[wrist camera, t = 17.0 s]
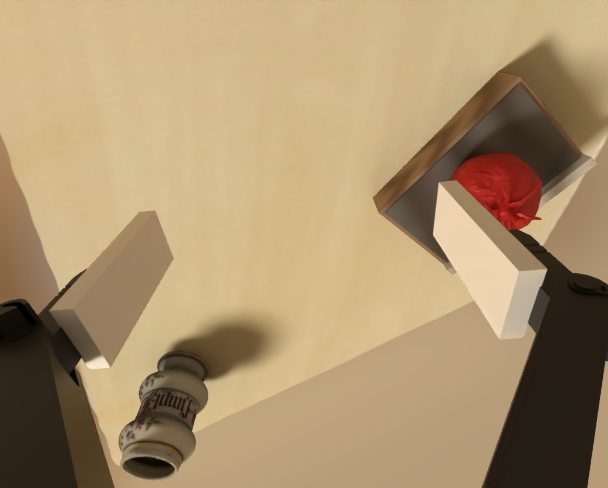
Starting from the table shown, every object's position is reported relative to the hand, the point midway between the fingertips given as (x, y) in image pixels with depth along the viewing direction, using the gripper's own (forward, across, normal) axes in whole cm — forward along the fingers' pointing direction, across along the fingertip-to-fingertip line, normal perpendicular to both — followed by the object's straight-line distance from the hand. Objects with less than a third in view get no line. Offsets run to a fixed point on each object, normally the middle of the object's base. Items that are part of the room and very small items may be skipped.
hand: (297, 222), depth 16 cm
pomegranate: (+24, +20, -10) cm, 33 cm away
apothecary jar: (+29, -28, -45) cm, 61 cm away
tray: (+29, +20, -11) cm, 37 cm away
